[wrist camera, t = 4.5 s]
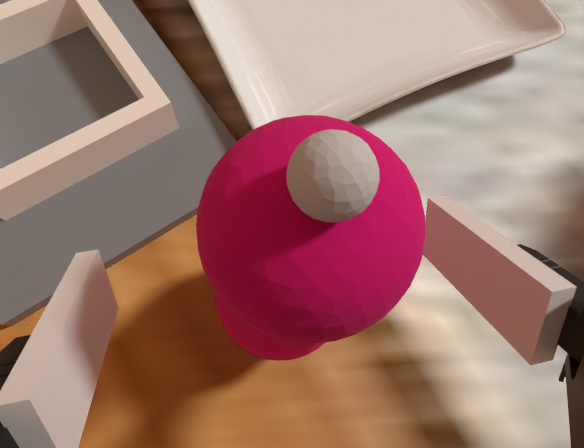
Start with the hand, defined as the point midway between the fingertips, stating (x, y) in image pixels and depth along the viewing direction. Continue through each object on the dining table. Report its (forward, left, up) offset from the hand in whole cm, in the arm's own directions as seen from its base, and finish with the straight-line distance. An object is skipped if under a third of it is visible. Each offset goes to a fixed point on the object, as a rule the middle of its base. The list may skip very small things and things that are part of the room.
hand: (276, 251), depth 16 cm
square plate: (-20, -18, -11) cm, 29 cm away
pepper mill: (0, +1, -11) cm, 11 cm away
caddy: (+5, -19, -11) cm, 22 cm away
